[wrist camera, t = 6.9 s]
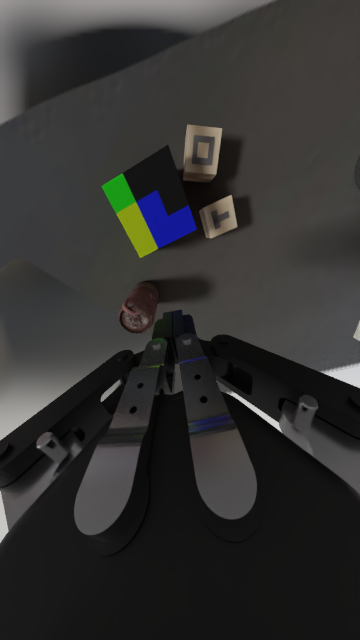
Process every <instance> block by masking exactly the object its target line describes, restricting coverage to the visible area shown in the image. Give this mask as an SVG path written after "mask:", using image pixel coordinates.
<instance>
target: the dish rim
mask: <svg viewBox="0 0 360 640" xmlns="http://www.w3.org/2000/svg"><path fill="white" fill-rule="evenodd" d="M353 337H354V338H355V339H357V340H359V341H360V322H359V324H358V327H357V329H356V332H355V334H354V336H353Z"/></svg>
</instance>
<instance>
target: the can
mask: <svg viewBox="0 0 360 640" xmlns="http://www.w3.org/2000/svg"><path fill="white" fill-rule="evenodd" d="M158 299H159V291H158V289H157V287H156V286H155V285H154V284H153V283H151V282H147V281H144V282H140V283H138V284H137V285H136V286H135V288H134V289H133V291H132V292H131V294H130V295H129V297H128V298H127V299H126V300H125V301H124V303H123V305H122V307H121V309H120V311H119V321H120V323H121V326H122V327H123V328H124V329H125V330H127V331H128V332H131V333H136V334H137V333H143V332H145V331H147V330H148V329H149V328H150V327H151V326H152V324H153V322H154V318H155V313H156V308H157V303H158Z"/></svg>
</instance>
